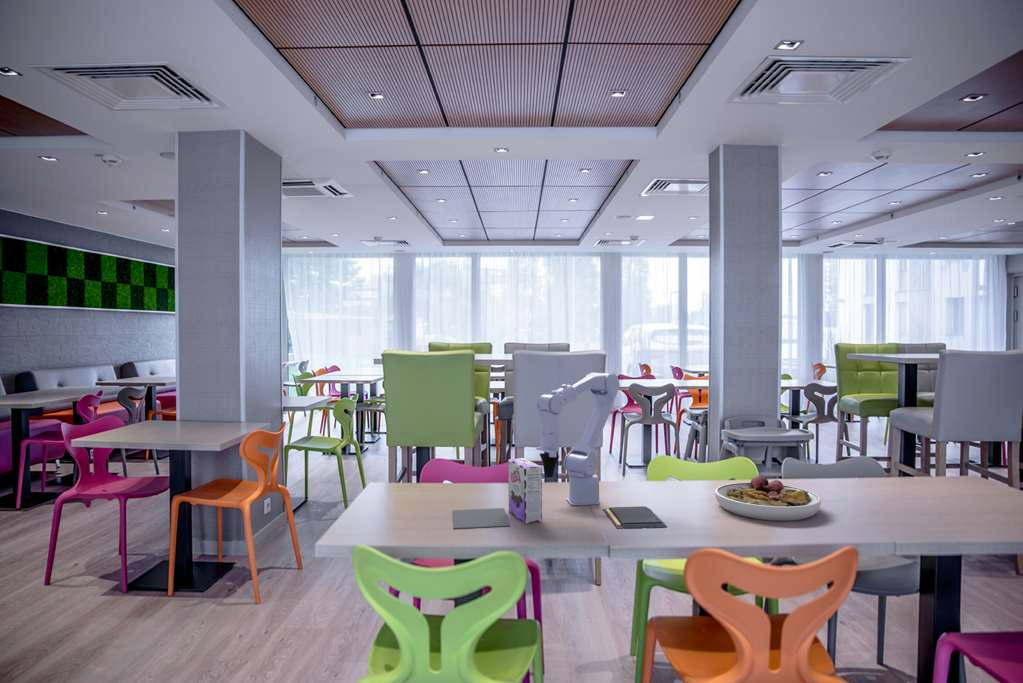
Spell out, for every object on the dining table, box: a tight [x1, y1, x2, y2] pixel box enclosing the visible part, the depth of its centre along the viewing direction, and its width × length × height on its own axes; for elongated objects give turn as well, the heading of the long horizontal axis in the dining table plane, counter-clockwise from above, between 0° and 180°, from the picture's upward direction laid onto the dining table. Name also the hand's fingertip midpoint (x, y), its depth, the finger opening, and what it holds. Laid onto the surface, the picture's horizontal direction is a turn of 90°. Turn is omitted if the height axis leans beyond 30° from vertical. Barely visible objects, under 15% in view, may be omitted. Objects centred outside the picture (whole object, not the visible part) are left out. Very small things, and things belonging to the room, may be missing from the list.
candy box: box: [507, 457, 543, 524], centre depth 181 cm, size 14×6×16 cm, turn 21°
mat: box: [452, 507, 511, 530], centre depth 179 cm, size 16×18×1 cm
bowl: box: [714, 475, 822, 522], centre depth 186 cm, size 30×30×8 cm
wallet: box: [602, 505, 668, 530], centre depth 178 cm, size 20×2×15 cm
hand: (548, 476), depth 187 cm, fingers closed
